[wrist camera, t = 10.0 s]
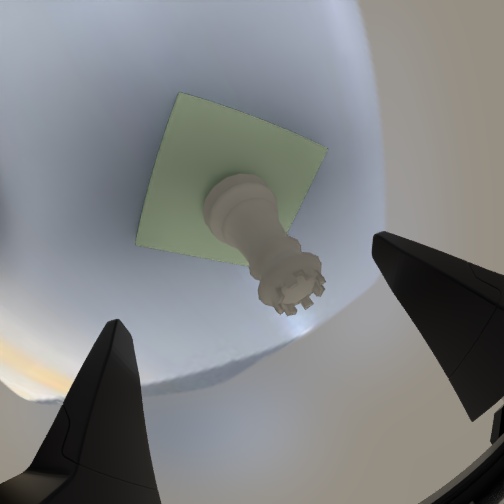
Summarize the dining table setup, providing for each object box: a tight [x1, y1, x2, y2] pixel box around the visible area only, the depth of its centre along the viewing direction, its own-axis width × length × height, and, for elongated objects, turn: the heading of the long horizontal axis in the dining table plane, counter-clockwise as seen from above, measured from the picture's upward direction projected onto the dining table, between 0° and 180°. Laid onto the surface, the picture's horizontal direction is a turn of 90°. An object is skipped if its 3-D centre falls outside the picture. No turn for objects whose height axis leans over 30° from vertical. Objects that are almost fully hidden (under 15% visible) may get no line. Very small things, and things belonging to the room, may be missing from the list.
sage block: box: [135, 92, 328, 266], centre depth 18 cm, size 10×10×2 cm
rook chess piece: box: [203, 173, 326, 316], centre depth 15 cm, size 4×4×8 cm
